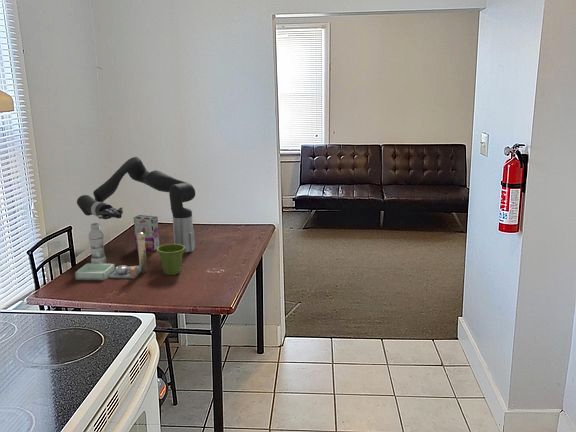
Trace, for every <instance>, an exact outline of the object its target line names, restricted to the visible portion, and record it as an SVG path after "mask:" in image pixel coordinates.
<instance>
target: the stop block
mask: <svg viewBox="0 0 576 432" xmlns="http://www.w3.org/2000/svg"><path fill="white" fill-rule="evenodd" d="M131 275H135V267H131Z"/></svg>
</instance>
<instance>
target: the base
mask: <svg viewBox="0 0 576 432" xmlns="http://www.w3.org/2000/svg"><path fill="white" fill-rule="evenodd" d="M140 273H142V271H135V275H131V272H126V273H123V274H118V273H116V269H115V271H114V272H113V273H112V274H111V275H109V277H108V278H109V279H136V278H137V276H139V275H140Z"/></svg>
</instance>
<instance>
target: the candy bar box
mask: <svg viewBox="0 0 576 432" xmlns="http://www.w3.org/2000/svg"><path fill="white" fill-rule="evenodd" d="M158 219H159V217H158V216H157V215H156V216H155V215H143V214H138V215H136V216H133V225H134V226H133V227H134V238H135V249H137V250H138V241H137V237H136V236H137V234H138V233H140V232H142V233H144V234H145V250H146V251H154V252H155V251H157V248H158V247H159V246H161V245H160V234H159V232H160V231H159V220H158Z"/></svg>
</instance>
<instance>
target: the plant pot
mask: <svg viewBox="0 0 576 432" xmlns="http://www.w3.org/2000/svg"><path fill="white" fill-rule="evenodd" d="M184 249H185V247H184V246H183V245H180V244H174V243H168V244H162V245H160V246H159V247H158V248H157V250H156V251H157V252H158V255H159V257H160V258H159V259H160V263H161V267H162V270H163V274H164V275H168V276H175V275H177V274H180V273H181V270H182V269H181V268H182V262H183V261H182V260H183V255H184V253H183V250H184Z"/></svg>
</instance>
